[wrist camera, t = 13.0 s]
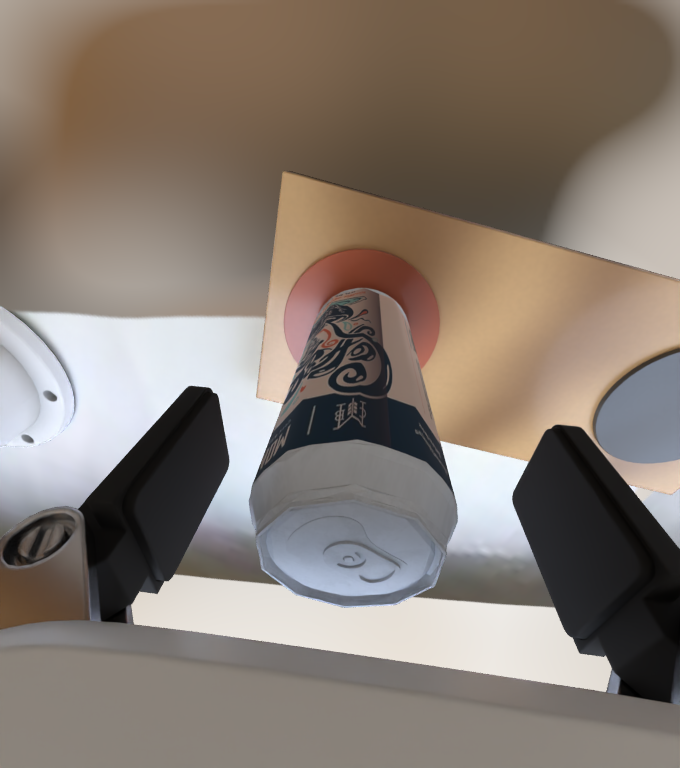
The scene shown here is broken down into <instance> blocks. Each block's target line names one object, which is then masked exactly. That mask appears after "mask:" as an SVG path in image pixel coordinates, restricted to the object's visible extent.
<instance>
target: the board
mask: <svg viewBox="0 0 680 768" xmlns="http://www.w3.org/2000/svg"><path fill="white" fill-rule="evenodd" d="M355 288H369V289H374V290H378V291H380V292H382V293H385V294H387V295H388V296H390V297H391V298H393V299H394V300H395V301H396V302H397V303H398V304H399V305H400V306H401V308H402V310H403V311H404V313H405V314H406V317H407V320H408V323H409V326H410V330H411V334H412V338H413V342H414V345H415V349H416V353H417V357H418V360H419V364H420V368H421V372H422V375H423V379H424V383H425V387H426V391H427V394H428V398H429V402H430V406H431V409H432V413H433V417H434V421H435V425H436V428H437V432H438V436H439V440H440V441H444V442H448V443H452V444H456V445H461V446H465V447H469V448H473V449H478V450H482V451H486V452H490V453H495V454H499V455H503V456H507V457H512V458H516V459H520V460H525V461H530V459H531V457H532V455H533V453H534V451H535V449H536V448H537V446H538V444H539V442H540V440H541V438H542V436H543V434H544V432H545V431H546V430H547V429H551V428H552V427H553V426H554V425H557V424H559V425H568V426H578V427H581V428H582V429H583V430H584V431H585V432H586V433H587V434H588V436H589V437H590V438H591V439H592V441H593V442H594V443H595V444H596V446H597V447H598V448H599V449H600V451H601V452H602V453H603V454H604V456H605V457H606V458H607V459H608V461H609V462H610V463H611V464H612V466H613V467H614V468H615V469H616V471H617V472H618V473H619V474H620V476H621V477H622V478H623V479H624V480H625V482H626V483H627V484H628V485H631V486H635V487H640V488H644V489H648V490H652V491H657V492H661V493H665V494H669V495H672V494H673V493H675V492H676V491H677V490H678V489H679V488H680V280H679V279H676V278H672V277H669V276H665V275H662V274H657V273H654V272H651V271H647V270H644V269H640V268H636V267H633V266H629V265H625V264H622V263H618V262H615V261H611V260H608V259H604V258H600V257H597V256H593V255H590V254H586V253H582V252H579V251H575V250H571V249H568V248H564V247H561V246H557V245H553V244H550V243H546V242H543V241H539V240H536V239H532V238H529V237H525V236H522V235H518V234H514V233H511V232H507V231H503V230H500V229H496V228H492V227H489V226H486V225H482V224H478V223H475V222H471V221H467V220H464V219H460V218H457V217H453V216H450V215H446V214H443V213H439V212H435V211H432V210H428V209H424V208H420V207H417V206H414V205H410V204H407V203H403V202H399V201H396V200H392V199H389V198H385V197H381V196H378V195H374V194H371V193H367V192H364V191H360V190H356V189H353V188H349V187H345V186H342V185H338V184H335V183H331V182H328V181H324V180H320V179H317V178H313V177H310V176H306V175H302V174H299V173H295V172H291V171H283V172H282V180H281V188H280V197H279V206H278V215H277V223H276V232H275V241H274V248H273V257H272V265H271V275H270V283H269V291H268V300H267V308H266V317H265V325H264V334H263V343H262V351H261V360H260V368H259V377H258V385H257V394H256V397H257V398H260V399H265V400H269V401H273V402H278V403H282V404H283V403H284V401H285V398H286V396H287V393H288V390H289V388H290V385H291V382H292V380H293V377H294V375H295V372H296V369H297V367H298V364H299V361H300V359H301V356H302V353H303V351H304V348H305V346H306V343H307V340H308V338H309V335H310V332H311V330H312V327H313V325H314V322H315V319H316V317H317V315H318V313H319V312H320V310H321V309H322V307H323V306H324V305H325V304H326V303H327V302H328V301H329V300H330V299H331V298H332V297H333V296H335V295H337V294H339V293H340V292H343V291H345V290H350V289H355Z"/></svg>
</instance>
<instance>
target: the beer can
mask: <svg viewBox="0 0 680 768" xmlns="http://www.w3.org/2000/svg"><path fill="white" fill-rule="evenodd" d="M249 507H250V513H251V519H252V524H253V526H254V528H255V530H256V545H257V548H258V552H259V558H260V563H261V569H262V570H263V571H265V572H266V573H267V574H268V575H270V576H271V577H272V578H274V579H275V580H276V581H278V582H279V583H280V584H282V585H283V586H284V587H286V588H287V589H288V590H290V591H291V592H292V593H294V594H295V595H298V596H302V597H306V598H309V599H313V600H317V601H321V602H324V603H328V604H332V605H336V606H340V607H344V608H349V607H369V606H387V605H397V604H398V603H401V602H402V601H405V600H407V599H409V598H411V597H413V596H415V595H418V594H420V593H422V592H424V591H426V590H428V589H430V588H432V587H434V586H435V584H436V582H437V579H438V576H439V574H440V571H441V568H442V566H443V563H444V561H445V557H446V555H447V552H446V549H447V544H448V543H449V541H450V539H451V537H452V534H453V532H454V529H455V527H456V524H457V519H458V516H457V504H456V500H455V496H454V492H453V489H452V485H451V481H450V477H449V474H448V470H447V466H446V462H445V458H444V455H443V451H442V447H441V443H440V440H439V436H438V432H437V428H436V425H435V421H434V417H433V413H432V409H431V406H430V402H429V398H428V394H427V391H426V387H425V383H424V379H423V375H422V372H421V368H420V364H419V360H418V357H417V353H416V349H415V345H414V342H413V338H412V334H411V330H410V326H409V323H408V320H407V317H406V314H405V313H404V311H403V310H402V308H401V306H400V305H399V304H398V303H397V302H396V301H395V300H394V299H393V298H391V297H390V296H388V295H387V294H385V293H382V292H380V291H378V290H374V289H369V288H355V289H350V290H345V291H343V292H340V293H339V294H337V295H335V296H333V297H332V298H331V299H330V300H329V301H328V302H327V303H326V304H325V305H324V306H323V307H322V309H321V310H320V312H319V313H318V315H317V317H316V319H315V322H314V325H313V327H312V330H311V332H310V335H309V338H308V340H307V343H306V346H305V348H304V351H303V353H302V356H301V359H300V361H299V364H298V367H297V369H296V372H295V375H294V377H293V380H292V382H291V385H290V388H289V390H288V393H287V396H286V398H285V401H284V403H283V406H282V409H281V411H280V414H279V417H278V419H277V422H276V425H275V427H274V430H273V432H272V435H271V438H270V440H269V443H268V446H267V448H266V451H265V453H264V456H263V459H262V461H261V464H260V467H259V469H258V472H257V474H256V477H255V480H254V482H253V485H252V489H251V495H250V499H249Z"/></svg>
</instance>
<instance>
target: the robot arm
mask: <svg viewBox="0 0 680 768" xmlns="http://www.w3.org/2000/svg"><path fill="white" fill-rule="evenodd" d="M73 414H74V397H73V392H72V387H71V385H70V382H69V380H68V378H67V375H66V373H65V371H64V369H63V368H62V366H61V364H60V363H59V361H58V360H57V358H56V356H55V355H54V354H53V353H52V352H51V350H50V349H49V348H48V347H47V345H46V344H45V343H44V342H43V341H42V340H41V339H40V338H39V337H38V336H37V335H36V334H35V333H34V332H33V331H32V330H31V329H30V328H29V327H28V326H27V325H26V324H25V323H23V322H22V321H21V320H19V319H18V318H17V317H16V316H14V315H13V314H12V313H10V312H9V311H8V310H6V309H5V308H3V307H2V306H0V448H2V447H3V446H8V447H31V446H38V445H41V444H44V443H46V442H49V441H51V440H52V439H53V438H54V437H56V436H57V435H58V434H60V433H61V432H62V431H63V430H64V429H65V428H66V427H67V426H68V425H69V423H70V421H71V419H72V416H73ZM228 467H229V455H228V449H227V443H226V438H225V432H224V426H223V421H222V415H221V409H220V404H219V398H218V395H217V394H216V393H213V391H212V390H211V388H207V387H197V386H189V387H187V388H186V389H185V390H184V392H183V393H182V394H181V395H180V396H179V397H178V398H177V399H176V400H175V402H174V403H173V404H172V405H171V406H170V407H169V408H168V409H167V410H166V411H165V413H164V414H163V415H162V416H161V417H160V418H159V419H158V420H157V421H156V423H155V424H154V425H153V426H152V427H151V428H150V429H149V430H148V431H147V433H146V434H145V435H144V436H143V437H142V438H141V439H140V440H139V441H138V443H137V444H136V445H135V446H134V447H133V448H132V449H131V450H130V451H129V453H128V454H127V455H126V456H125V457H124V458H123V459H122V460H121V461H120V462H119V464H118V465H117V466H116V467H115V468H114V469H113V470H112V471H111V472H110V474H109V475H108V476H107V477H106V478H105V479H104V480H103V481H102V482H101V484H100V485H99V486H98V487H97V488H96V489H95V490H94V491H93V492H92V494H91V495H90V496H89V497H88V498H87V499H86V501H85V502H84V503H83V504H82V505H81V507H80V508H79V509H76V508H72V507H68V506H64V507H54V508H50V509H47V510H43V511H40V512H38V513H36V514H34V515H31V516H29V517H27V518H26V519H24V520H23V521H21V522H20V523H18V524H16V525H15V526H14V527H13V528H12V529H10V530H9V531H8V532H7V533H6V534H5V535H4V536H3V537H2V538H1V540H0V768H680V549H679V548H678V547H677V545H676V544H675V543H674V542H673V540H672V539H671V538H670V537H669V535H668V534H667V533H666V532H665V530H664V529H663V528H662V527H661V525H660V524H659V523H658V522H657V520H656V519H655V518H654V517H653V515H652V514H651V513H650V512H649V510H648V509H647V508H646V507H645V505H644V504H643V503H642V502H641V501H640V499H639V498H638V497H637V495H636V494H635V493H634V492H633V490H632V489H631V488H630V487H629V485H628V484H627V483H626V482H625V480H624V479H623V478H622V477H621V476H620V474H619V473H618V472H617V471H616V469H615V468H614V467H613V466H612V464H611V463H610V462H609V461H608V459H607V458H606V457H605V456H604V454H603V453H602V452H601V451H600V449H599V448H598V447H597V446H596V444H595V443H594V442H593V441H592V439H591V438H590V437H589V436H588V434H587V433H586V432H585V431H584V430H583V429H582V428H581V427H578V426H568V425H559V424H557V425H554V426H553V427H552V428H551V429H547V430H546V431H545V432H544V434H543V436H542V438H541V440H540V442H539V444H538V446H537V448H536V449H535V451H534V453H533V455H532V457H531V459H530V461H529V463H528V465H527V467H526V469H525V471H524V473H523V475H522V476H521V478H520V480H519V482H518V484H517V486H516V488H515V490H514V492H513V496H512V500H513V505H514V508H515V510H516V512H517V515H518V517H519V520H520V522H521V525H522V527H523V530H524V532H525V535H526V537H527V540H528V542H529V544H530V547H531V549H532V552H533V554H534V557H535V559H536V562H537V564H538V567H539V569H540V571H541V574H542V576H543V579H544V581H545V584H546V586H547V589H548V591H549V594H550V596H551V599H552V601H553V603H554V606H555V608H556V611H557V613H558V616H559V618H560V621H561V623H562V625H563V627H564V630H565V631H566V633H567V634H568V635H569V636H570V637H573V639H574V642H575V644H576V646H577V649H578V651H579V653H580V654H587V655H595V656H602V657H604V656H605V655H606V656H607V658H608V660H609V663H610V665H611V667H612V671H611V675H610V679H609V683H608V687H607V691H606V692H600V691H595V690H588V689H582V688H575V687H568V686H562V685H555V684H549V683H541V682H536V681H529V680H522V679H516V678H509V677H502V676H496V675H489V674H483V673H476V672H470V671H463V670H456V669H449V668H442V667H436V666H429V665H422V664H415V663H408V662H401V661H395V660H388V659H381V658H374V657H367V656H360V655H354V654H347V653H340V652H333V651H326V650H319V649H312V648H305V647H298V646H290V645H283V644H277V643H270V642H262V641H256V640H249V639H242V638H235V637H227V636H220V635H213V634H206V633H199V632H192V631H183V630H175V629H167V628H159V627H150V626H142V625H134V623H133V616H132V609H131V604H132V603H133V601H134V600H135V598H136V596H137V594H138V593H139V591H140V592H147V593H155V594H158V592H159V590H160V588H161V586H162V585H163V583H164V581H169V580H170V579H171V578H172V577H173V575H174V573H175V571H176V569H177V568H178V566H179V564H180V562H181V560H182V558H183V556H184V554H185V552H186V550H187V548H188V546H189V544H190V542H191V540H192V538H193V536H194V534H195V532H196V531H197V529H198V527H199V525H200V523H201V521H202V519H203V517H204V515H205V513H206V511H207V509H208V507H209V505H210V503H211V501H212V499H213V497H214V495H215V493H216V492H217V490H218V488H219V486H220V484H221V482H222V480H223V478H224V476H225V474H226V472H227V470H228Z"/></svg>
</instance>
